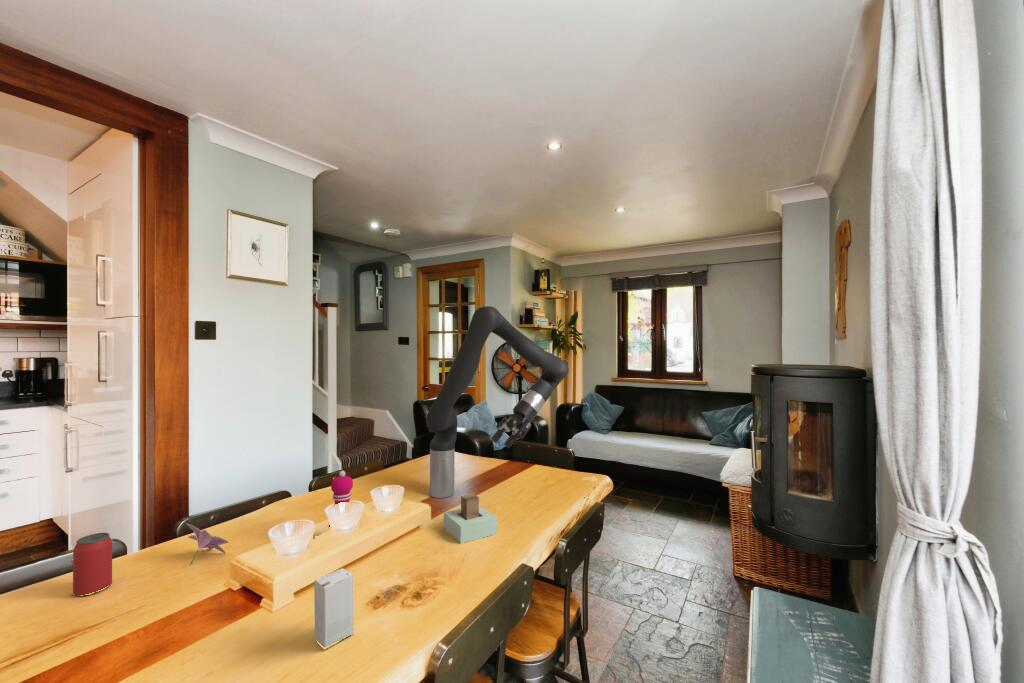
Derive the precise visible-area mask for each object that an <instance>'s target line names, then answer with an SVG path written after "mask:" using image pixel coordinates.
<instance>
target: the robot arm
mask: <svg viewBox="0 0 1024 683" xmlns="http://www.w3.org/2000/svg"><path fill="white" fill-rule="evenodd" d="M492 333H493V334H495V335H496V336H497V337H499V338H500V339H502V340H503V341H504V342H505V343H507V345H508V346H510V347H511V349H512V350H513V351H514V352H516V354H517V355H519V356H520V357H521V358H522V359H523V360H525V361H526V362H527V363H528V364H530V365H531V366H533V367H534V368H542V369H543V370H544V372H543V373H542V374H541V376H540V377H539V378H538V379H537V380H536V381H535V383H533V385H532V386H531V387H530V389H529V390H528V391H526V392H525V394H524V395H523V396H522V397H521V399H520V400H519V401H518V403H517V404H516V405H515V406H514V407H513V409H512V413H513V414H512V415H511V416H510V415H509V414H508V413H506V414H505V415H504V416H503V418H502V419H501V420H500V421H499V422H498V423H497V424H496V426H495V428H496V429H497V431H496V432H495V433H494V434H493V435H492V437H491V440H492V442H493V443H495V444H496V443H498V442H499V440H500V439H501V437H502V436H503V435H504V434H506V433H509V432H511V431H512V432H511V435H510V436H509V437H508V438H507V439H506V441H505V442H504V443H503V444H504V446H505V447H506V448H507V449H510V448H511V447H512V446H513V445H514V443H515V442H516V441H518V440H519V439H520V440H523V439H524V438H525V436H526V435H527V433H528V432H529V430H530V429H531V428H532V422H533V420H534V419H535V417H536V416H537V415H538V414H539V413H540V411H541V410H542V409H543V407H544V405H545V404H546V402H547V401H548V400H549V399H550V397H551V395H553V392H554V391H555V389H557V387H558V385H560V383H562V381H564V379H565V378H566V377H567V375H568V374H569V371H570V370H569V366H568V364H567V362H565V361H564V360H563V359H562V358H560V357H559V356H557V355H555V354H554V353H551V352H549V351H547V350H546V349H543V348H542V346H540V345H538V344H537V343H536V342H535V341H533V340H532V339H530V338H529V337H528V336H526V335H525V333H522V332H521V331H520V330H518V329H517V328H516V327H515V326H514V325H513V324H512V323H511V322H509V321H508V320H507V318H506V317H505V316H504V315H503V314H502V313H501V312H500V311H499V310H498V309H497V308H496V307H495V306H494V307H493V306H491V305H485V306H480V307H478V308H477V309H476V310H475V311H474V312H473V315H472V317H471V320H470V322H469V326H468V329H467V333H466V335H465V338H464V339H463V342H462V343H461V345H460V347H459V349H458V351H457V353H456V355H455V357H454V359H453V361H452V363H451V365H450V368H449V370H448V372H447V375H446V377H445V379H444V382H443V383H442V386H441V388H440V391H439V393H438V395H437V396H436V398H435V400H434V401H433V403H432V405H431V407H430V408H429V410H428V412H427V414H426V417H425V424H426V427H427V429H428V431H430V432H432V433H434V436H433V438H432V439H431V440H430V443H429V495H430V496H431V497H432V498H438V499H439V498H440V499H441V498H442V499H444V498H448V497H452V496H454V494H455V468H456V467H455V463H456V462H455V458H456V457H455V444H456V441H457V435H458V434H457V433H458V415H457V412H456V410H455V408H454V406H455V403H456V402H457V401H458V399H459V398H460V397H461V395H462V394H463V393H464V392H465V391H466V390H467V389H468V387H469V386H470V384H471V383H472V382H473V380H474V377H475V375H476V373H477V371H478V368H479V365H480V362H481V356H482V351H483V348H484V345H485V343H486V342H487V340H488V338H489V336H490V334H492Z"/></svg>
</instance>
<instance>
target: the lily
mask: <svg viewBox="0 0 1024 683" xmlns="http://www.w3.org/2000/svg"><path fill="white" fill-rule="evenodd" d="M185 524H186V526H188V527H189V528H190V529H191V530H192V531H193V532H194V534H195V535H194V534H192V535H189V536H187V538H189V539H192V540H195V541H197V545H198V548H197V550H196V551H195V554H194V556H193V557H192V560H191V562H190V565H191V564H192V565H193V562H194V560H195V557H196V556H197V554H198V553H199V551H200V550H201V549H205V548H206V549H209V550H213V549H215V550H217V551H220V552H222V553H223V554H225V553H226V552H225V550H224V549H223V548H222V547H221V545H224V544H229V541H228V540H226V539H224V538H222V537H219V536H215V535H213V534H210V533H209V532H208V531H207V530H206V529H202V530H201V529H200V528H199V527H197V526H195V525H193V524H190V523H187V522H185Z"/></svg>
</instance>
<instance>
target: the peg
mask: <svg viewBox="0 0 1024 683" xmlns="http://www.w3.org/2000/svg"><path fill="white" fill-rule="evenodd" d="M479 498H480V497H479V496H477V495H476V494H474V493H467V494H463V495H460V509H461V517H462V518H463V519H464V520H469V519H473V518H477V517H479V506H480V504H479V502H480V499H479Z"/></svg>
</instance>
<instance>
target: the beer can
mask: <svg viewBox="0 0 1024 683" xmlns="http://www.w3.org/2000/svg"><path fill="white" fill-rule="evenodd" d="M110 535H111V534H110V533H109V532H97V533H93V534H89V535H85V536H82V537H81V538H79V539H77V540H76V542H75V543H76V544H75V545H74V548H73V551H72V552H73V553H72V594H73V595H74V594H75V595H74V596H76V595H85V594H89V593H92V592H96V591H98V590H101V589H103V588H105V587H107V586H108V585H110V584H111V585H112V583H113V540H112V538H111V536H110ZM111 585H110V586H111ZM107 588H108V587H107Z"/></svg>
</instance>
